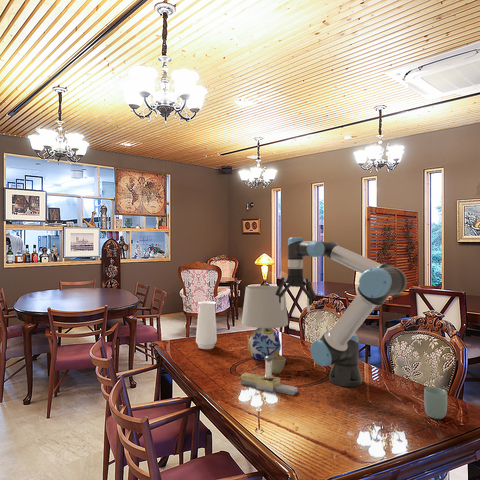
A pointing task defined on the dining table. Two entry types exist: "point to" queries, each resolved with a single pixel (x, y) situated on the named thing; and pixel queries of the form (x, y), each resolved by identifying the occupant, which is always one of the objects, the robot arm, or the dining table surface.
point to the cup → (435, 402)
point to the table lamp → (264, 319)
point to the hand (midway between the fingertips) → (295, 310)
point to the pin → (268, 367)
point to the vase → (206, 325)
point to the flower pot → (278, 364)
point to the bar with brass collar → (267, 384)
